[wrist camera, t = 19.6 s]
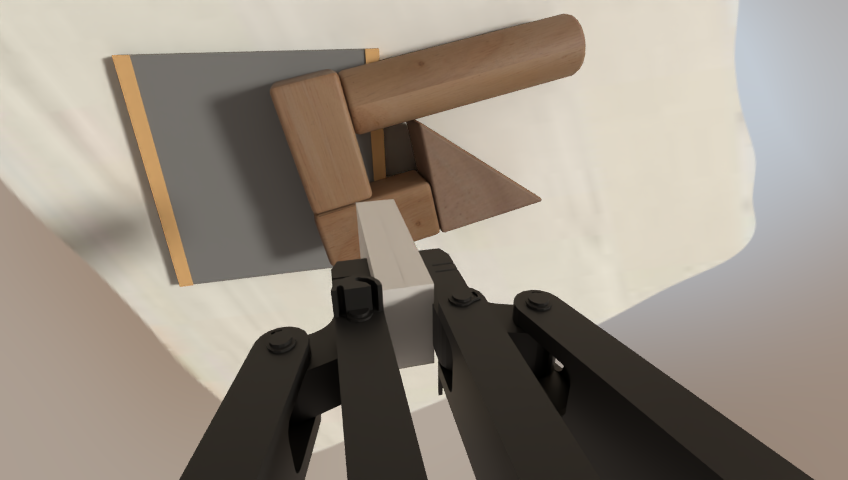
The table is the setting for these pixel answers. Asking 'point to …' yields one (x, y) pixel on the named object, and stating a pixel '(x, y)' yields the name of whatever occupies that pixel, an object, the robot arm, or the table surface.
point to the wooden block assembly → (416, 128)
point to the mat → (230, 158)
